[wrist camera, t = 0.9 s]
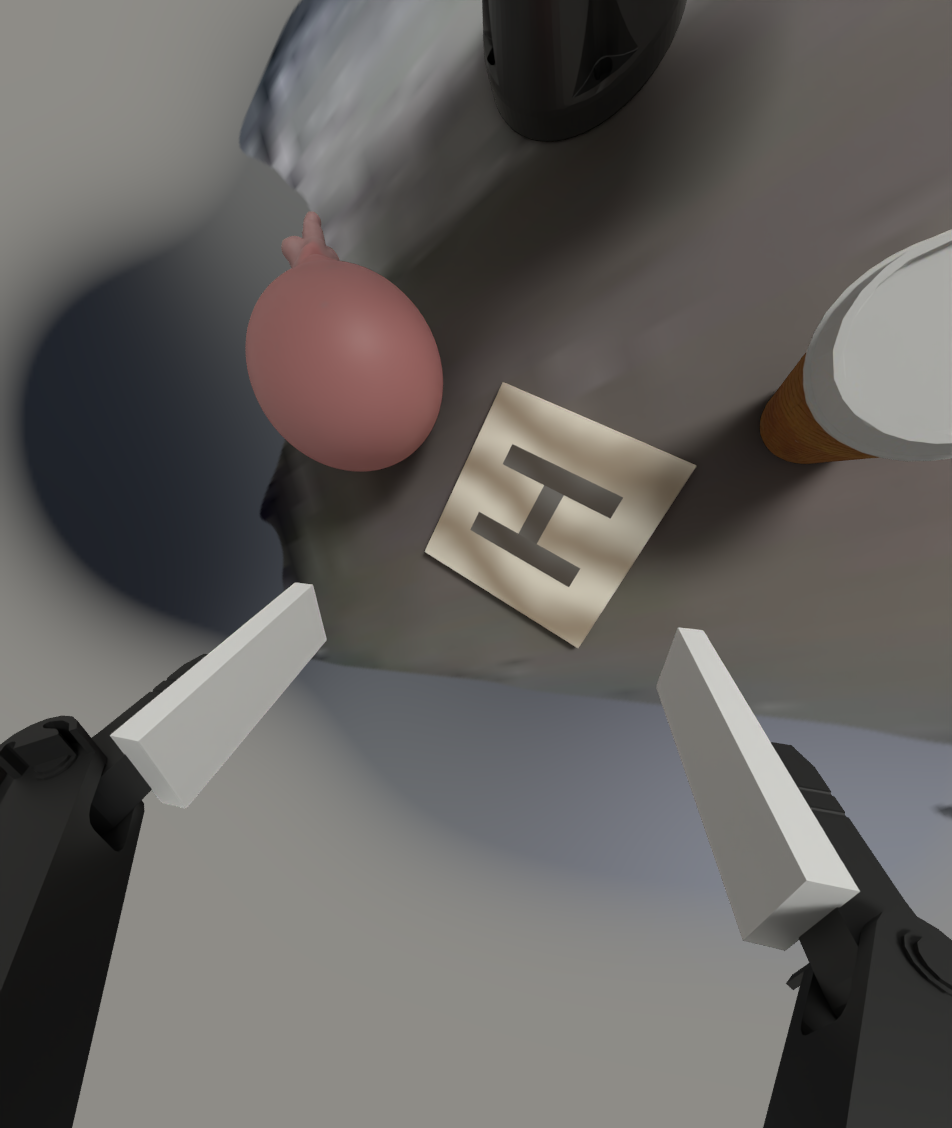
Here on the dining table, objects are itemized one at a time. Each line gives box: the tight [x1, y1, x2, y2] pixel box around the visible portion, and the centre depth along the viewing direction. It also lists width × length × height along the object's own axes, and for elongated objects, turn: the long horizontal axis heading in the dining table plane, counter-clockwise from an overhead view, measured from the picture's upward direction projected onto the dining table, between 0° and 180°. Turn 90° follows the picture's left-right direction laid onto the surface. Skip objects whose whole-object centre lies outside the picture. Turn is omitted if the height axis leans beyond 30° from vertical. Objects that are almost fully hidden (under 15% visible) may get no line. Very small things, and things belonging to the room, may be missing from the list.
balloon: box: [246, 212, 443, 472], centre depth 30 cm, size 15×20×15 cm
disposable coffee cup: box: [760, 229, 952, 464], centre depth 20 cm, size 10×10×12 cm
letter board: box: [425, 382, 697, 648], centre depth 33 cm, size 18×18×1 cm
